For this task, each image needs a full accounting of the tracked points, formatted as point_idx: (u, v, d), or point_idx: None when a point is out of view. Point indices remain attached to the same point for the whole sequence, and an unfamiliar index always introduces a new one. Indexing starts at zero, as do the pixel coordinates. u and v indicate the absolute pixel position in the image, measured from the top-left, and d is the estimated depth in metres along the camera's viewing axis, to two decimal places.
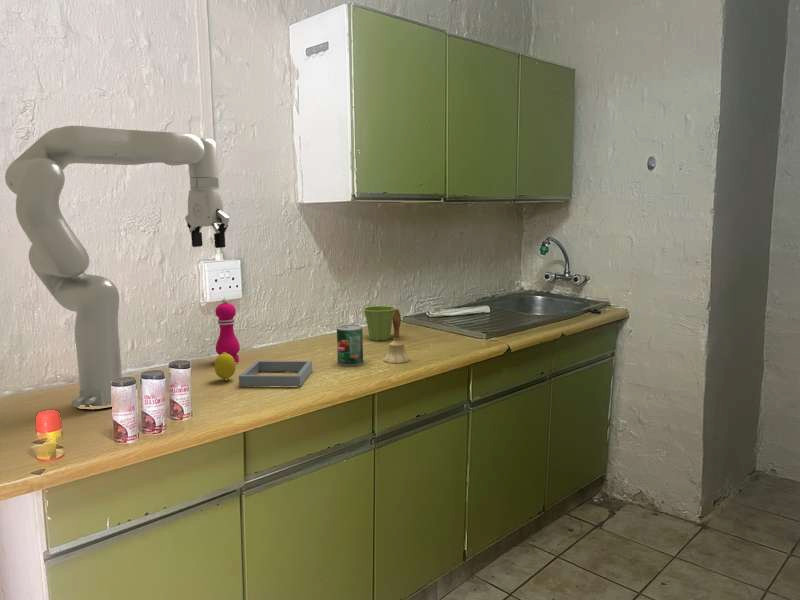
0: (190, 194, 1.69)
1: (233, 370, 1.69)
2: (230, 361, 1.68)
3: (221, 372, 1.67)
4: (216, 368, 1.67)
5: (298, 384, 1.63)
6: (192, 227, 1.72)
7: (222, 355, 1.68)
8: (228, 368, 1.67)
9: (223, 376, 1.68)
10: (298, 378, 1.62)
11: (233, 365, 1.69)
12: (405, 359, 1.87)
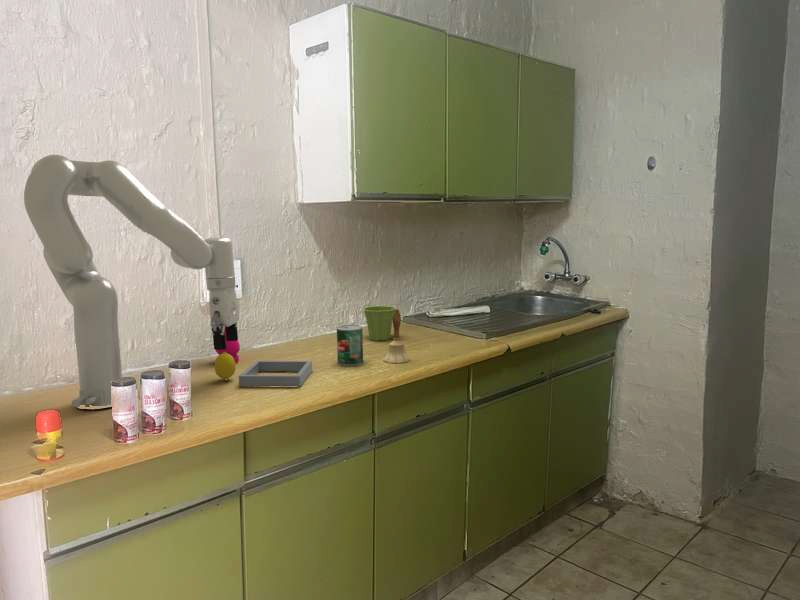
0: (227, 294, 1.63)
1: (233, 370, 1.69)
2: (230, 361, 1.68)
3: (221, 372, 1.67)
4: (216, 368, 1.67)
5: (298, 384, 1.63)
6: (223, 329, 1.63)
7: (222, 355, 1.68)
8: (227, 368, 1.67)
9: (223, 376, 1.68)
10: (298, 378, 1.62)
11: (233, 365, 1.69)
12: (405, 359, 1.87)
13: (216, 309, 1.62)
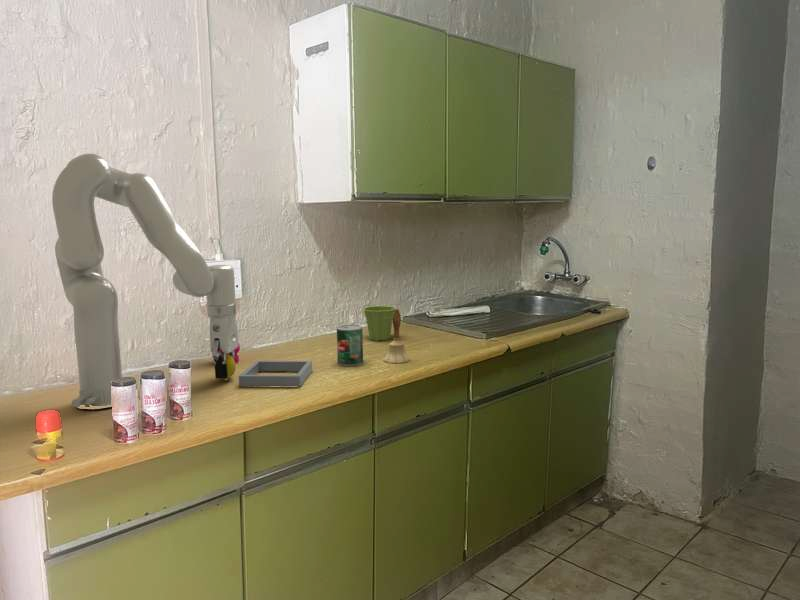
0: (227, 321, 1.64)
1: (233, 370, 1.69)
2: (230, 361, 1.68)
3: None
4: None
5: (298, 384, 1.63)
6: (225, 357, 1.66)
7: (222, 355, 1.68)
8: (227, 368, 1.67)
9: None
10: (298, 378, 1.62)
11: (233, 365, 1.69)
12: (405, 359, 1.87)
13: (216, 336, 1.63)
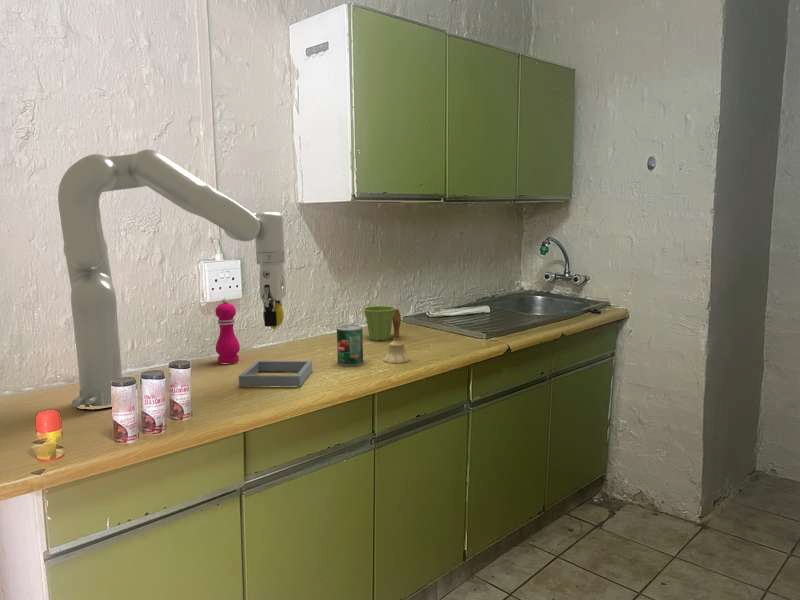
0: (277, 268, 1.63)
1: (282, 318, 1.68)
2: (279, 309, 1.67)
3: None
4: None
5: (298, 384, 1.63)
6: (274, 305, 1.65)
7: (271, 303, 1.67)
8: (277, 316, 1.66)
9: None
10: (298, 378, 1.62)
11: (282, 313, 1.68)
12: (405, 359, 1.87)
13: (266, 283, 1.62)
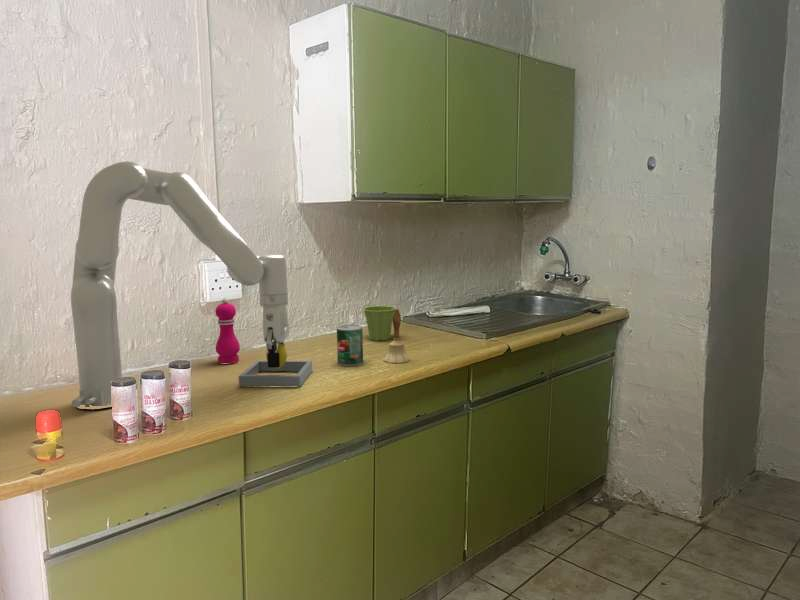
0: (280, 310, 1.65)
1: (285, 359, 1.70)
2: (282, 350, 1.69)
3: None
4: None
5: (298, 384, 1.63)
6: (277, 346, 1.66)
7: (274, 344, 1.69)
8: (280, 357, 1.68)
9: None
10: (298, 378, 1.62)
11: (285, 354, 1.69)
12: (405, 359, 1.87)
13: (269, 325, 1.64)
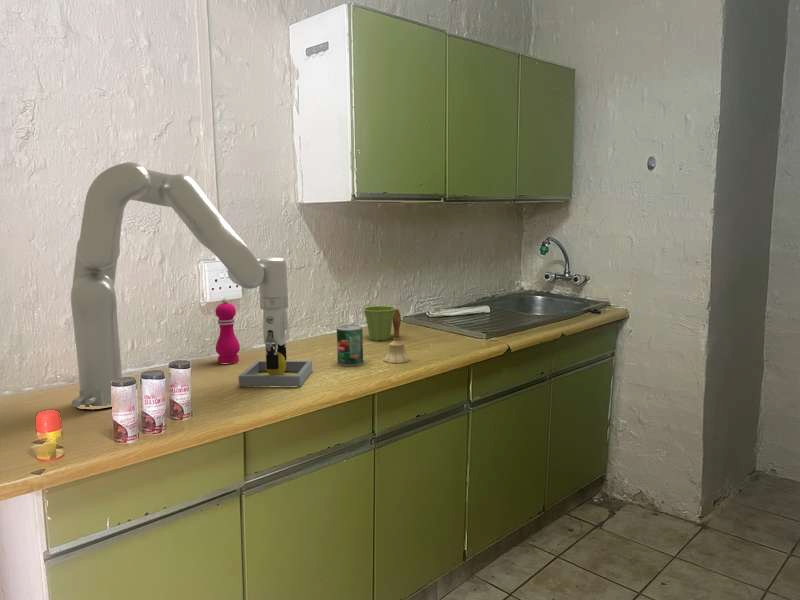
0: (280, 313, 1.65)
1: (284, 368, 1.70)
2: (282, 359, 1.69)
3: (273, 371, 1.68)
4: None
5: (298, 384, 1.63)
6: (276, 348, 1.65)
7: None
8: (279, 367, 1.68)
9: None
10: (298, 378, 1.62)
11: (284, 364, 1.69)
12: (405, 359, 1.87)
13: (270, 328, 1.64)
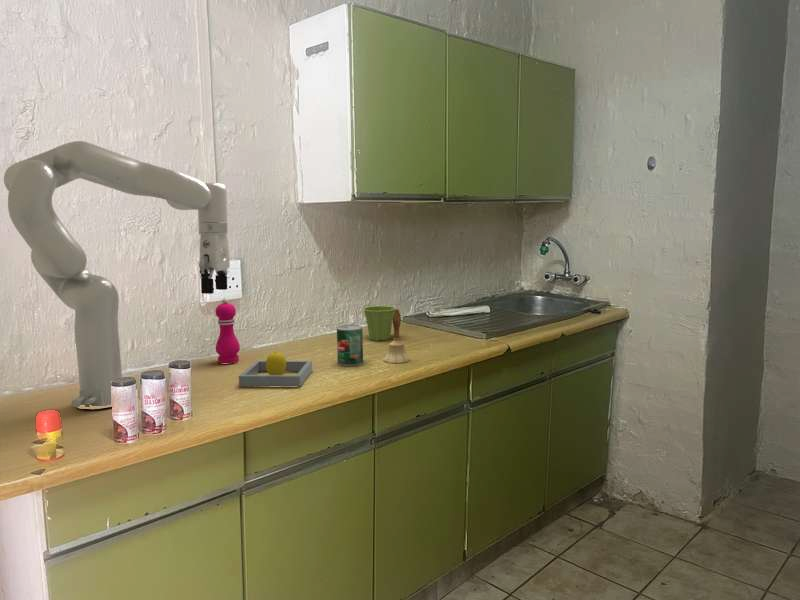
0: (218, 239, 1.65)
1: (284, 369, 1.70)
2: (282, 359, 1.69)
3: (273, 371, 1.68)
4: (268, 367, 1.68)
5: (298, 384, 1.63)
6: (212, 273, 1.64)
7: (274, 354, 1.69)
8: (279, 367, 1.68)
9: None
10: (298, 378, 1.62)
11: (284, 364, 1.70)
12: (405, 359, 1.87)
13: (206, 252, 1.63)
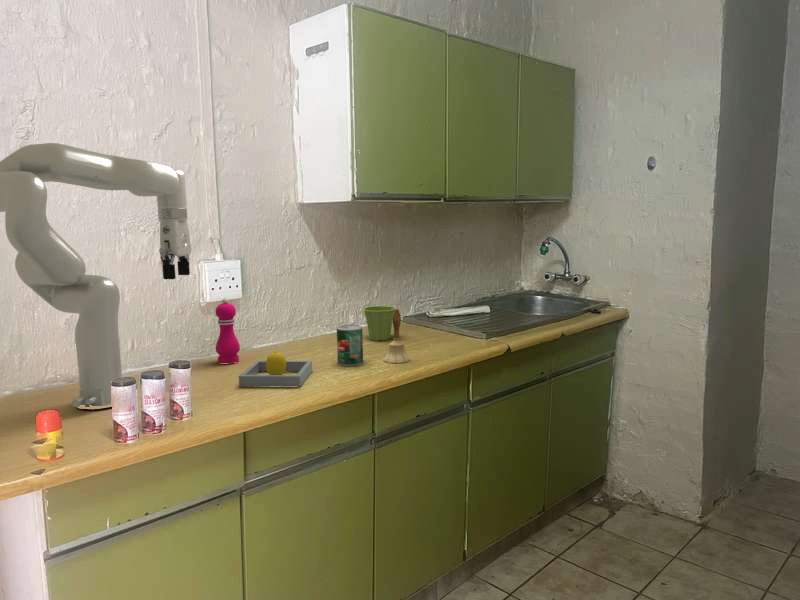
0: (178, 224, 1.66)
1: (284, 369, 1.70)
2: (282, 359, 1.69)
3: (273, 371, 1.68)
4: (268, 367, 1.68)
5: (298, 384, 1.63)
6: (173, 258, 1.66)
7: (273, 354, 1.69)
8: (279, 367, 1.68)
9: None
10: (298, 378, 1.62)
11: (284, 364, 1.70)
12: (405, 359, 1.87)
13: (166, 238, 1.65)
